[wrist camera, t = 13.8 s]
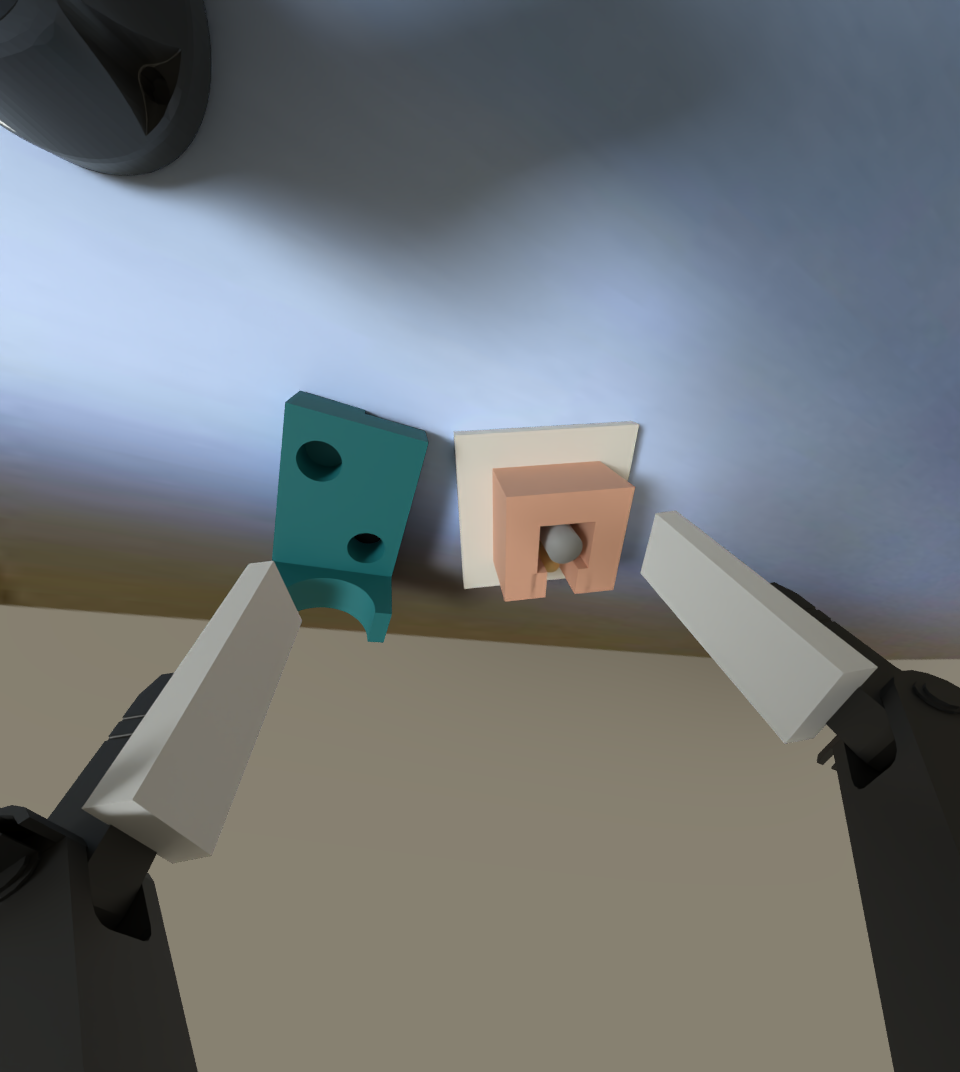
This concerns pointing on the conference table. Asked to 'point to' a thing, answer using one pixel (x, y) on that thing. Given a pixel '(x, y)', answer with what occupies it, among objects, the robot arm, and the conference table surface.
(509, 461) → the base
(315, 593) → the teal l-shaped bracket
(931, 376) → the conference table surface
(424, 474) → the conference table surface
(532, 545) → the orange arch block
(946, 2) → the conference table surface
